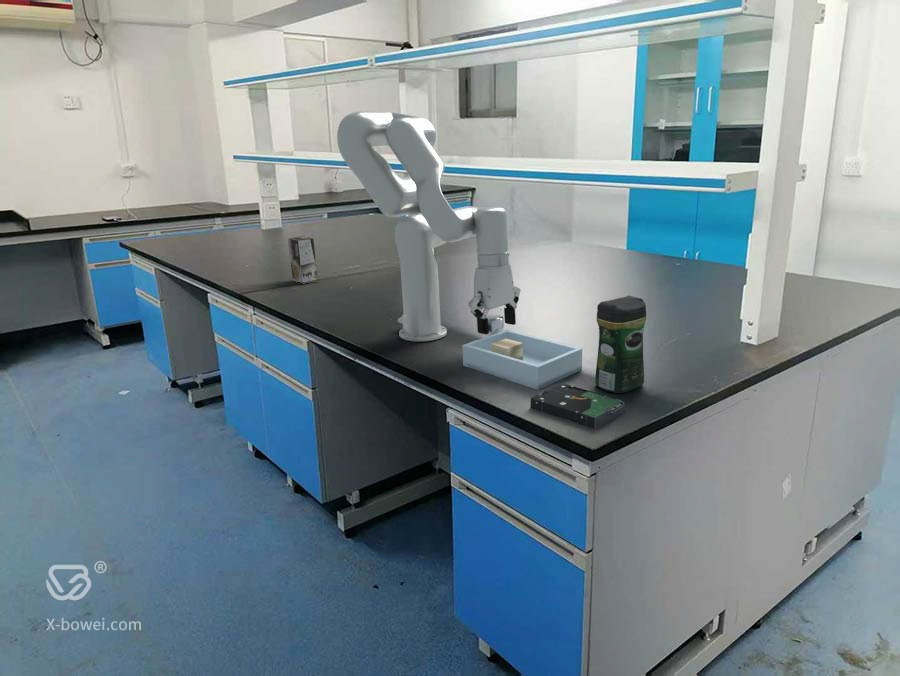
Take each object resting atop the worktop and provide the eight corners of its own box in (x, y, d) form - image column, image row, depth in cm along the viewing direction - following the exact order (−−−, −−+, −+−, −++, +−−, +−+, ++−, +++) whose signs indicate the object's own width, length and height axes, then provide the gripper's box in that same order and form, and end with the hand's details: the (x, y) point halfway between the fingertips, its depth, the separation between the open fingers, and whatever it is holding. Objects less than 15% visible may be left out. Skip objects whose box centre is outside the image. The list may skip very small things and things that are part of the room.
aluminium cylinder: (479, 345, 163) (478, 318, 161) (493, 340, 166) (492, 313, 164) (494, 349, 160) (493, 321, 158) (508, 344, 163) (507, 317, 161)
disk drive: (529, 411, 126) (596, 432, 116) (529, 397, 125) (596, 417, 115) (560, 395, 133) (626, 413, 123) (560, 382, 132) (626, 399, 122)
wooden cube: (506, 359, 149) (506, 338, 148) (523, 364, 146) (522, 343, 144) (491, 365, 146) (490, 344, 145) (508, 370, 143) (507, 348, 141)
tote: (463, 365, 150) (462, 345, 148) (507, 349, 159) (507, 329, 158) (537, 390, 134) (537, 367, 133) (581, 370, 144) (582, 348, 142)
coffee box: (318, 282, 240) (314, 238, 235) (302, 285, 237) (297, 240, 232) (308, 278, 247) (303, 235, 242) (292, 281, 244) (287, 237, 239)
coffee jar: (621, 375, 140) (625, 290, 134) (650, 386, 133) (655, 298, 128) (587, 385, 135) (589, 298, 130) (615, 397, 129) (618, 306, 123)
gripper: (505, 252, 165) (509, 318, 169) (456, 265, 153) (461, 335, 158) (528, 254, 159) (531, 322, 164) (478, 267, 148) (483, 340, 153)
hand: (497, 328), depth 161 cm, fingers open, 9 cm apart
